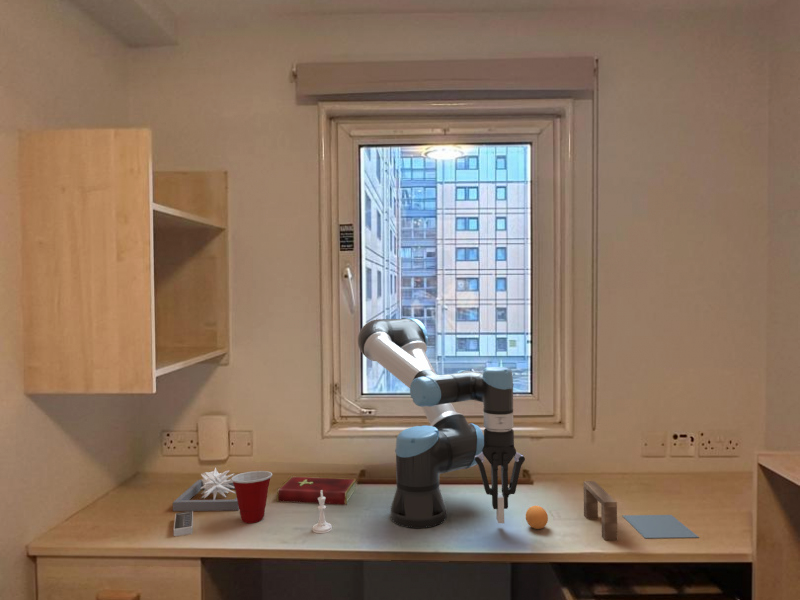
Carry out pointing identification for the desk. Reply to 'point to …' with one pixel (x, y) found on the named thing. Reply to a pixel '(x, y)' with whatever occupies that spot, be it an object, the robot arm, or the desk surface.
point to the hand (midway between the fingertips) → (500, 520)
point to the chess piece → (322, 517)
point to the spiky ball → (216, 483)
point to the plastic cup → (252, 494)
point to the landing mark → (659, 526)
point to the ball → (536, 517)
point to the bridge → (608, 508)
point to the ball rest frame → (202, 501)
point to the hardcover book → (316, 490)
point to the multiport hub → (183, 523)
